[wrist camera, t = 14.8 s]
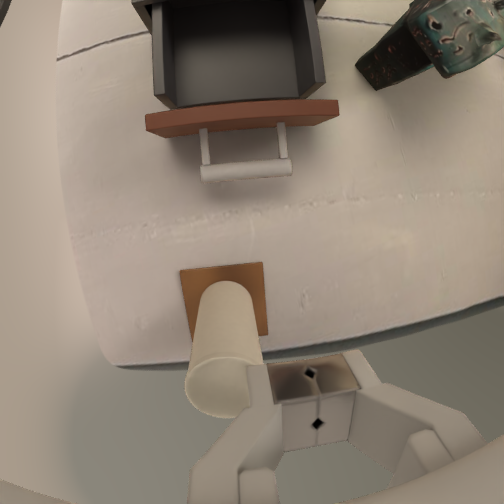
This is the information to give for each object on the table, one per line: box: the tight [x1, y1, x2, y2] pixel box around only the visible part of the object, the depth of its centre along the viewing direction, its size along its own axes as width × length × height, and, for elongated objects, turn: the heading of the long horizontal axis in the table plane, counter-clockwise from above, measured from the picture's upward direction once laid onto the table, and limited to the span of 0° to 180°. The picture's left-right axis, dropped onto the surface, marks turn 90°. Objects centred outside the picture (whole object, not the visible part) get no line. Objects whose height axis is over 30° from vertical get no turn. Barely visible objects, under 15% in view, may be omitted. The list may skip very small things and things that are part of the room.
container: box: [184, 281, 263, 418], centre depth 25 cm, size 5×5×13 cm
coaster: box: [180, 262, 268, 342], centre depth 31 cm, size 8×8×1 cm
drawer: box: [145, 0, 339, 184], centre depth 22 cm, size 18×13×7 cm
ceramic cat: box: [356, 0, 504, 91], centre depth 16 cm, size 20×6×20 cm, turn 132°
